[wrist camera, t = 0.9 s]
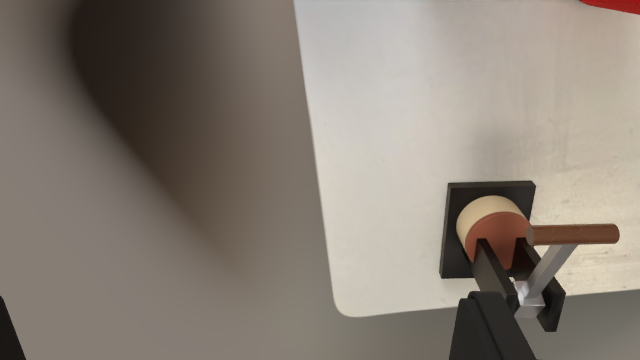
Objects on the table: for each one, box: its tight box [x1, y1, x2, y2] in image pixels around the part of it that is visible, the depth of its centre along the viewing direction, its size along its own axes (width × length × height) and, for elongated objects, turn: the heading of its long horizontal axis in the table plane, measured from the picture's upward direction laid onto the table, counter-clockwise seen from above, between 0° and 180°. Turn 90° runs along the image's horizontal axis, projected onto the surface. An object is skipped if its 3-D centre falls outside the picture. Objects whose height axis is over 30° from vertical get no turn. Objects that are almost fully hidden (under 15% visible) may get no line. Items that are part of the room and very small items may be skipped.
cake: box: [456, 196, 534, 270], centre depth 49 cm, size 7×7×4 cm
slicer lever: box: [512, 224, 620, 318], centre depth 38 cm, size 13×6×2 cm, turn 2°
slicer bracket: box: [439, 181, 566, 332], centre depth 47 cm, size 12×9×14 cm
